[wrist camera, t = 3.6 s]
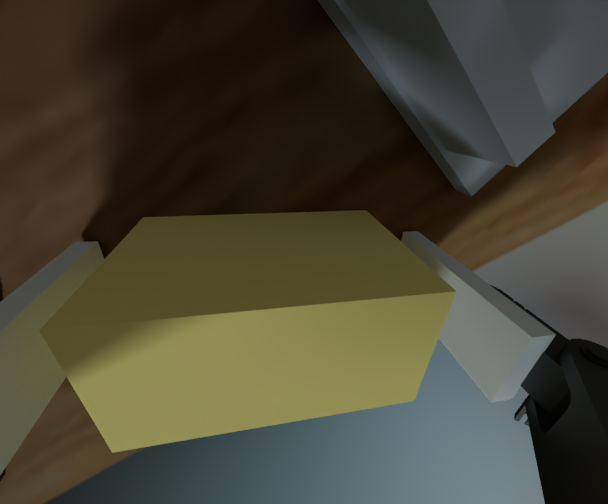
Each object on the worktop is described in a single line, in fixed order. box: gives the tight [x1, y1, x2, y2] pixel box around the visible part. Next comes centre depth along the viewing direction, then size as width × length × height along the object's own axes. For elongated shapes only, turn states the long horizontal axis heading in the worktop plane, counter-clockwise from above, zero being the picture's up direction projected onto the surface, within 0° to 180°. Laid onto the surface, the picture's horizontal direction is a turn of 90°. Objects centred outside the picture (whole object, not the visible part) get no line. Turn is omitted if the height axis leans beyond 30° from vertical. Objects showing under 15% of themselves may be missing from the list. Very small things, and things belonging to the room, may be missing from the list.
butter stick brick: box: [39, 210, 456, 453], centre depth 10 cm, size 9×4×6 cm, turn 88°
